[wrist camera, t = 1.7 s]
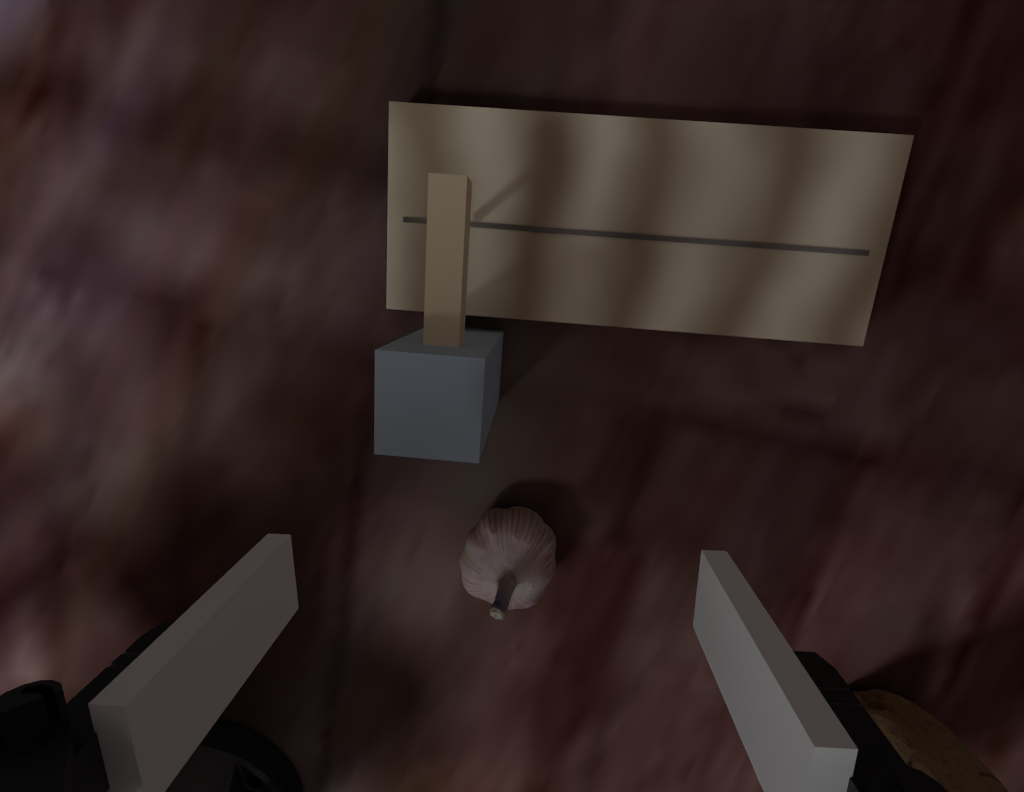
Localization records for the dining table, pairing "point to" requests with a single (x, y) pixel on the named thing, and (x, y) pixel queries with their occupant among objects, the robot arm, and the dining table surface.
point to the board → (651, 220)
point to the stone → (928, 743)
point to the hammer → (440, 350)
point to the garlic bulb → (508, 559)
